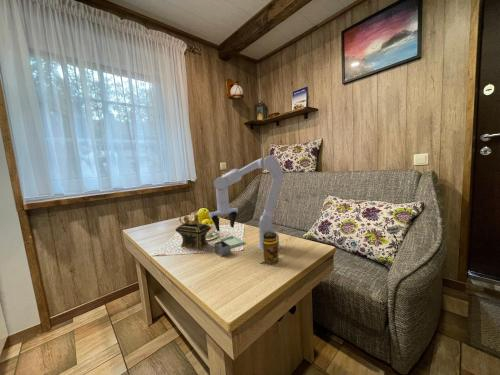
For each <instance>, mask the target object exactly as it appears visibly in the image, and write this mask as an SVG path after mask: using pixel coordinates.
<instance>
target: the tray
mask: <svg viewBox="0 0 500 375" xmlns="http://www.w3.org/2000/svg"><path fill="white" fill-rule="evenodd" d="M216 241H217V242H220V241H224V242H225V243H227V244H229V245H230V249H232V248H236V247H238V246H242V245H245V244H246V241H244V240H243V239H241V238H239V237H238V236H235V235H234V234H232V235H228V236H225V237H221V238H218V239H216ZM217 242H216V243H217Z"/></svg>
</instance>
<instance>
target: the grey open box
mask: <svg viewBox="0 0 500 375" xmlns="http://www.w3.org/2000/svg"><path fill="white" fill-rule="evenodd" d="M220 243H221V244H222V247H220V246H219V245H218V244H220ZM231 250H232V249H231V248H230V245H229V244H227V243H225V242H224V241H220V242H214V251H216V252H217V253H218V254H219V255H221V256H222V258H224V257H223V256H225V257H227V256H226V255H228V256H230V255H229V254H231V253H232V251H231ZM231 255H232V254H231Z"/></svg>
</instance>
